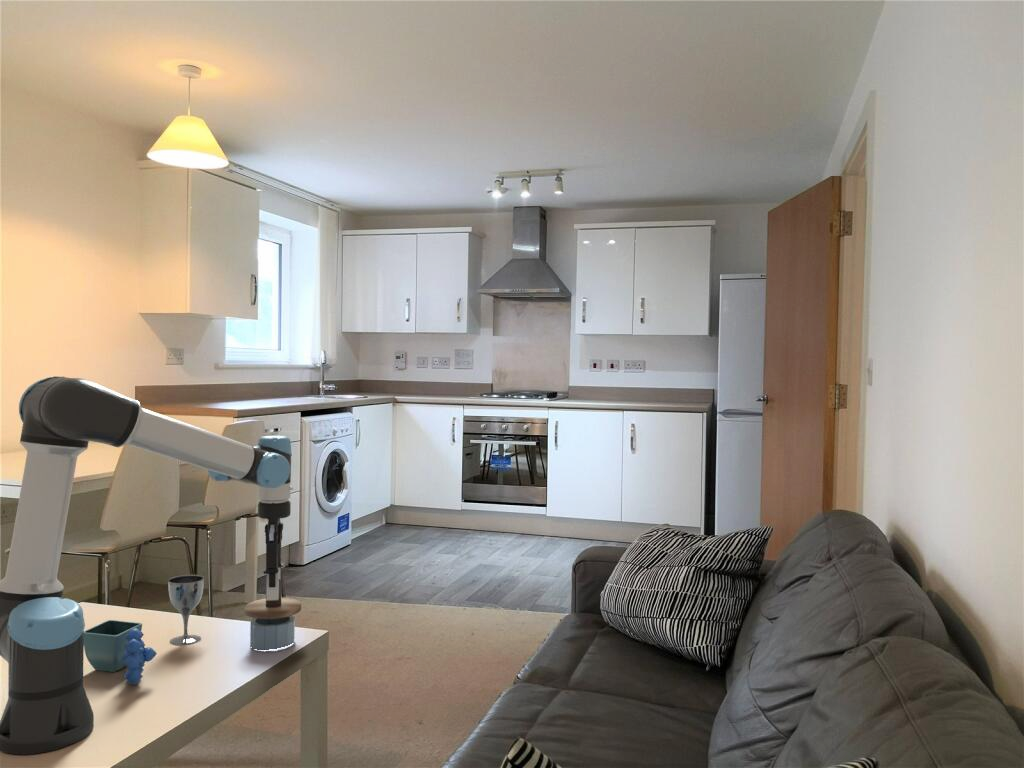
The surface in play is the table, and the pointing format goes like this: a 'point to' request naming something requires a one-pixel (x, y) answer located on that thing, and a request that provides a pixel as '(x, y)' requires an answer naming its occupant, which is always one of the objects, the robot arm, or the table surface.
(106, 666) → the flower pot
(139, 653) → the grapes
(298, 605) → the lid
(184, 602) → the wine glass
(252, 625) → the bowl
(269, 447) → the robot arm
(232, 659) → the table surface
